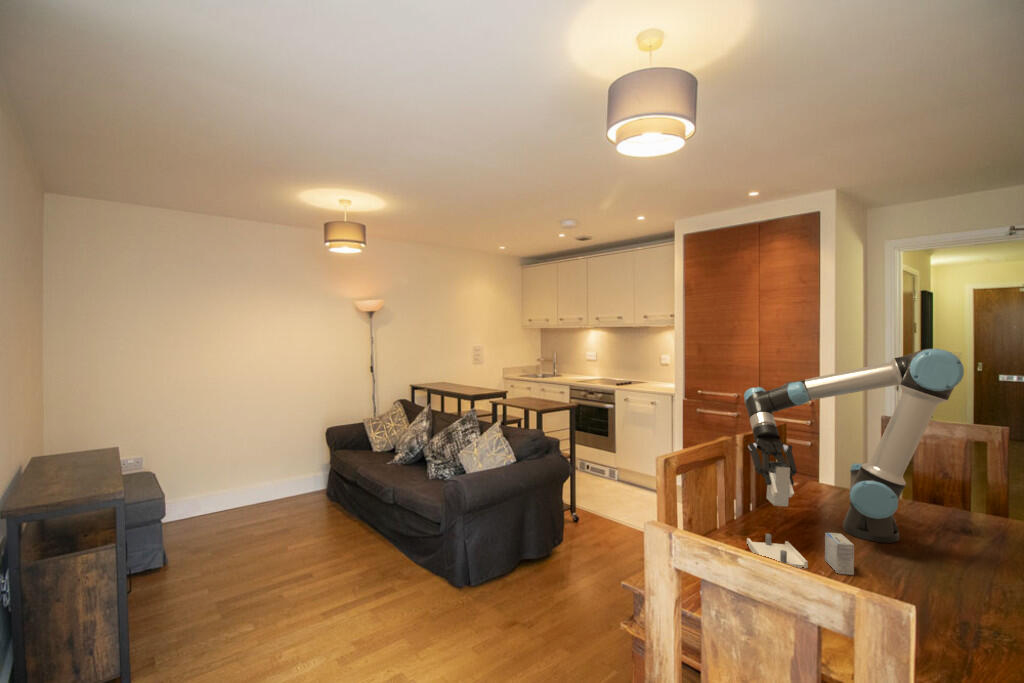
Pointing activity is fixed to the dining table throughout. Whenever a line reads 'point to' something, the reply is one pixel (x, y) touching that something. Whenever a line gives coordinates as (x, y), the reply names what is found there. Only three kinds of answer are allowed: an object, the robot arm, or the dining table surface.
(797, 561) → the tray
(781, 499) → the block
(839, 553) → the medicine box
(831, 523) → the dining table surface
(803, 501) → the dining table surface
